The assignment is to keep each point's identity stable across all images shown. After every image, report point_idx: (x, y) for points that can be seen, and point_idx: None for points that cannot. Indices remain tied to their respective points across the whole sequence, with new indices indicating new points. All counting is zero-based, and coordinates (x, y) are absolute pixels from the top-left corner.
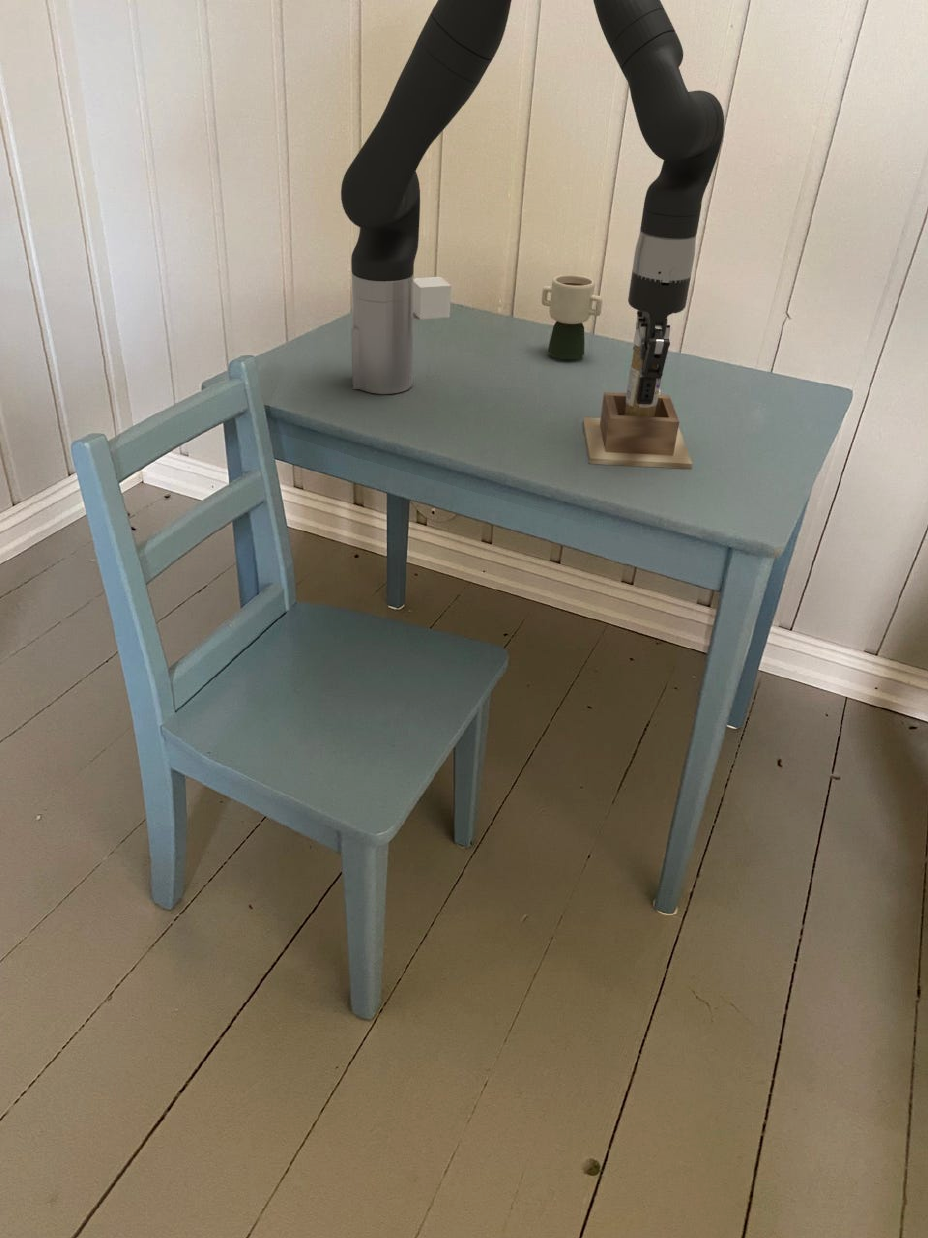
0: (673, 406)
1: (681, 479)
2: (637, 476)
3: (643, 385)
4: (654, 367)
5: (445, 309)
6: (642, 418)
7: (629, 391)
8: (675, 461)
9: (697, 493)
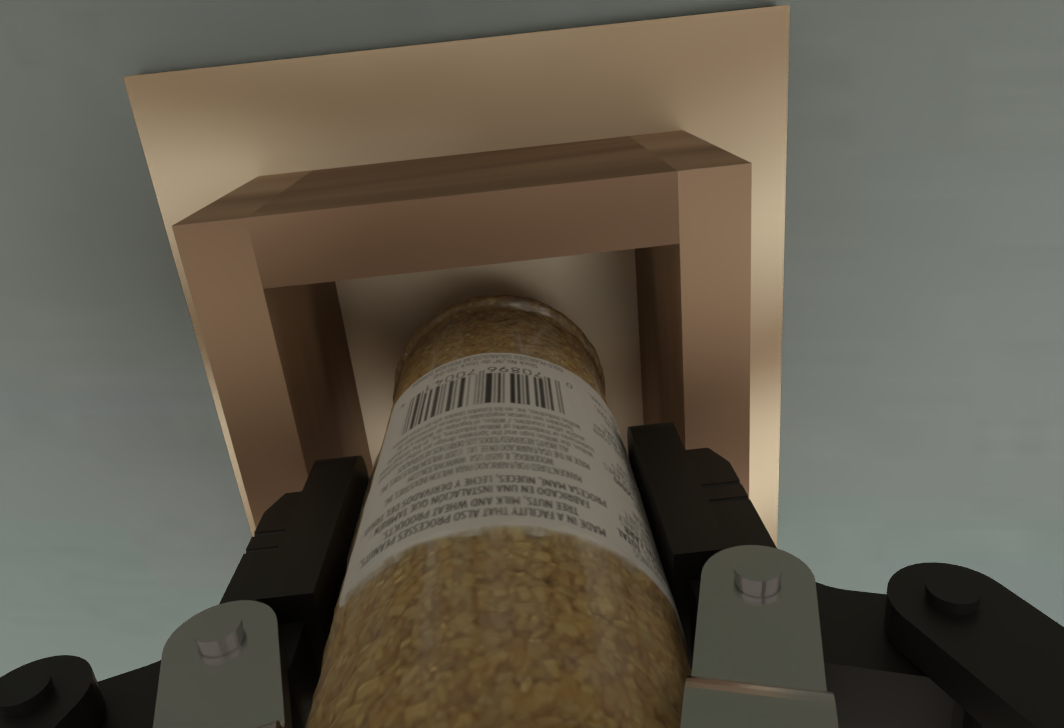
0: None
1: (149, 551)
2: (89, 354)
3: (230, 593)
4: None
5: None
6: (267, 462)
7: (429, 414)
8: None
9: (30, 609)
